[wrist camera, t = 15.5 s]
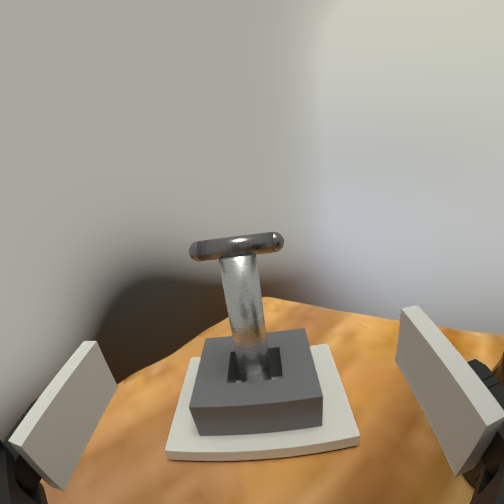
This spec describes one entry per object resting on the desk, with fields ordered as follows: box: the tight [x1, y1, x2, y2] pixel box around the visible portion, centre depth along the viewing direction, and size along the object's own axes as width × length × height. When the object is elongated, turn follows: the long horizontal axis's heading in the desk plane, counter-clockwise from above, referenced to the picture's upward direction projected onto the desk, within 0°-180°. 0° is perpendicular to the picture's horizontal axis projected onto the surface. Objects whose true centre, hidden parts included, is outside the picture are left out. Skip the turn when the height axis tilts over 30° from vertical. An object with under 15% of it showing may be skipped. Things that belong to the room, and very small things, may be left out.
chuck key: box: [189, 232, 284, 382], centre depth 26 cm, size 8×3×16 cm, turn 90°
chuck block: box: [165, 328, 360, 461], centre depth 28 cm, size 17×15×6 cm
